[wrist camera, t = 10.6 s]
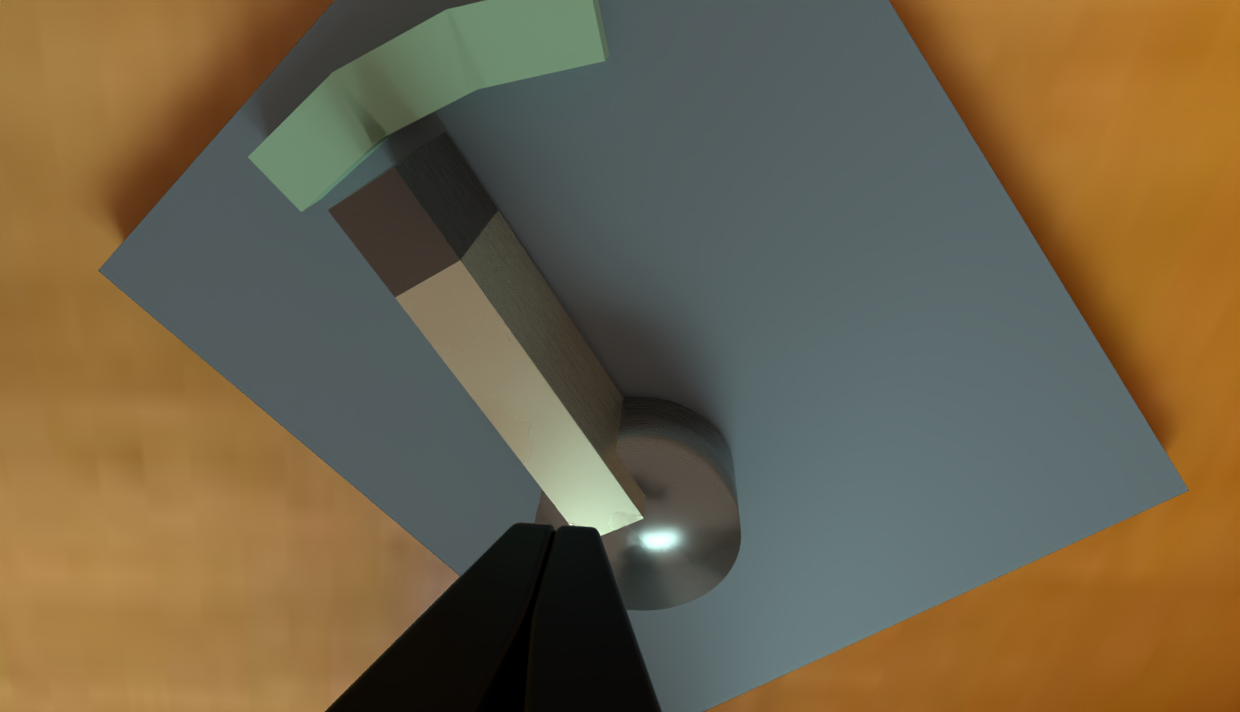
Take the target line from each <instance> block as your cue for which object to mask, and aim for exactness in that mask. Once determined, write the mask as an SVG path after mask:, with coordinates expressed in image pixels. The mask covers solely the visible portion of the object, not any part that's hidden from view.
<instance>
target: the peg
mask: <svg viewBox="0 0 1240 712" xmlns="http://www.w3.org/2000/svg"><path fill="white" fill-rule="evenodd" d="M328 211H329V212H330V214H331V215H332V216H333V218H334V219H335V220H336V222H337V223H338V224H339V225H340V227H341V228H342V229H343V231H344V232H345V233H346V235H347V236H348V237H349V238H350V240H351V241H352V242H353V244H354V245H355V246H356V248H357V249H358V250H359V251H360V253H361V254H362V255H363V257H364V258H365V259H366V261H367V262H368V263H369V264H370V266H371V267H372V268H373V270H374V271H375V272H376V274H377V275H378V276H379V278H380V279H381V280H382V281H383V283H384V284H385V285H386V287H387V288H388V289H389V291H390V292H391V293H392V294H393V296H394V297H395V298H396V300H397V301H398V302H399V304H400V305H401V306H402V307H403V309H404V310H405V311H406V313H407V314H408V315H409V317H410V318H411V319H412V320H413V322H414V323H415V324H416V326H417V327H418V328H419V330H420V331H421V332H422V333H423V335H424V336H425V337H426V339H427V340H428V341H429V343H430V344H431V345H432V346H433V348H434V349H435V350H436V352H437V353H438V354H439V356H440V357H441V358H442V359H443V361H444V362H445V363H446V365H447V366H448V367H449V369H450V370H451V371H452V372H453V374H454V375H455V376H456V378H457V379H458V380H459V382H460V383H461V384H462V385H463V387H464V388H465V389H466V391H467V392H468V393H469V395H470V396H471V397H472V399H473V400H474V401H475V402H476V404H477V405H478V406H479V408H480V409H481V410H482V412H483V413H484V414H485V415H486V417H487V418H488V419H489V421H490V422H491V423H492V425H493V426H494V427H495V428H496V430H497V431H498V432H499V434H500V435H501V436H502V438H503V439H504V440H505V441H506V443H507V444H508V445H509V447H510V448H511V449H512V451H513V452H514V453H515V454H516V456H517V457H518V458H519V460H520V461H521V462H522V464H523V465H524V466H525V467H526V469H527V470H528V471H529V473H530V474H531V475H532V477H533V478H534V479H535V480H536V482H537V483H538V484H539V486H540V487H541V488H542V493H541V497H540V501H539V504H538V508H537V512H536V518H535V523H542V524H551V525H552V526H553V527H554V528H555V530H557V528H558V527H560V526H561V525H571V526H586V527H594V528H596V529H597V530H598V532H599V533H600V536H601V539H602V541H603V544H604V547H605V550H606V553H607V556H608V559H609V561H610V564H611V567H612V570H613V573H614V576H615V578H616V581H617V584H618V587H619V590H620V593H621V595H622V598H623V601H624V604H625V607H626V610H636V611H650V610H662V609H667V608H672V607H676V606H680V605H683V604H686V603H688V602H691V601H693V600H696V599H698V598H699V597H701V596H703V595H705V594H707V593H708V592H709V591H711V590H712V589H713V588H715V587H716V586H717V585H718V584H719V583H720V582H721V581H722V580H723V579H724V578H725V577H726V576H727V574H728V573H729V572H730V570H731V569H732V567H733V565H734V563H735V562H736V559H737V556H738V553H739V549H740V544H741V526H740V516H739V507H738V497H737V488H736V478H735V469H734V463H733V458H732V455H731V452H730V450H729V448H728V446H727V444H726V442H725V440H724V439H723V437H722V436H721V434H720V433H719V432H718V431H717V430H716V428H715V427H714V426H713V425H712V424H711V423H710V422H708V421H707V420H706V419H705V418H703V417H702V416H701V415H699V414H697V413H696V412H694V411H692V410H691V409H689V408H686V407H684V406H682V405H680V404H677V403H674V402H671V401H668V400H663V399H658V398H650V397H627V398H623V397H622V395H621V394H620V392H619V391H618V389H617V388H616V386H615V385H614V383H613V382H612V380H611V379H610V377H609V376H608V374H607V373H606V371H605V370H604V368H603V367H602V365H601V364H600V362H599V361H598V359H597V358H596V356H595V355H594V353H593V352H592V350H591V349H590V347H589V346H588V344H587V343H586V341H585V340H584V338H583V337H582V335H581V334H580V332H579V331H578V329H577V328H576V326H575V325H574V323H573V322H572V320H571V319H570V317H569V316H568V314H567V313H566V311H565V310H564V308H563V307H562V305H561V304H560V302H559V301H558V299H557V298H556V296H555V295H554V293H553V292H552V290H551V289H550V287H549V286H548V284H547V283H546V281H545V280H544V278H543V277H542V275H541V274H540V272H539V271H538V269H537V268H536V266H535V265H534V263H533V262H532V260H531V259H530V257H529V256H528V254H527V253H526V251H525V250H524V248H523V247H522V245H521V244H520V242H519V241H518V239H517V238H516V236H515V235H514V233H513V232H512V230H511V229H510V227H509V226H508V224H507V223H506V221H505V220H504V218H503V217H502V215H501V214H500V212H499V211H498V209H497V208H496V206H495V205H494V203H493V202H492V200H491V199H490V197H489V196H488V194H487V193H486V191H485V190H484V188H483V187H482V185H481V184H480V182H479V181H478V179H477V178H476V176H475V175H474V173H473V172H472V170H471V169H470V167H469V166H468V164H467V163H466V161H465V160H464V158H463V157H462V155H461V154H460V152H459V151H458V149H457V148H456V146H455V145H454V143H453V142H452V140H451V139H450V137H449V136H448V134H447V133H446V131H445V132H444V133H442V134H441V135H439V136H437V137H436V138H434V139H433V140H431V141H430V142H428V143H427V144H425V145H423V146H422V147H420V148H419V149H417V150H416V151H414V152H413V153H411V154H410V155H408V156H406V157H405V158H403V159H402V160H400V161H399V162H397V163H396V164H394V165H392V166H391V167H389V168H388V169H386V170H385V171H383V172H382V173H381V174H379V175H378V176H376V177H375V178H373V179H372V180H370V181H369V182H367V183H366V184H365V185H363V186H362V187H360V188H359V189H357V190H356V191H354V192H353V193H352V194H350V195H349V196H347V197H346V198H344V199H343V200H341V201H340V202H338V203H337V204H336V205H334V206H333V207H331V208H330V209H328Z"/></svg>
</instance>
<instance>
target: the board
mask: <svg viewBox="0 0 1240 712" xmlns="http://www.w3.org/2000/svg"><path fill="white" fill-rule="evenodd" d="M445 131H446V133H447V134H448V136H449V137H450V139H451V140H452V142H453V143H454V145H455V146H456V148H457V149H458V151H459V152H460V154H461V155H462V157H463V158H464V160H465V161H466V163H467V164H468V166H469V167H470V169H471V170H472V172H473V173H474V175H475V176H476V178H477V179H478V181H479V182H480V184H481V185H482V187H483V188H484V190H485V191H486V193H487V194H488V196H489V197H490V199H491V200H492V202H493V203H494V205H495V206H496V208H497V209H498V211H499V212H500V214H501V215H502V217H503V218H504V220H505V221H506V223H507V224H508V226H509V227H510V229H511V230H512V232H513V233H514V235H515V236H516V238H517V239H518V241H519V242H520V244H521V245H522V247H523V248H524V250H525V251H526V253H527V254H528V256H529V257H530V259H531V260H532V262H533V263H534V265H535V266H536V268H537V269H538V271H539V272H540V274H541V275H542V277H543V278H544V280H545V281H546V283H547V284H548V286H549V287H550V289H551V290H552V292H553V293H554V295H555V296H556V298H557V299H558V301H559V302H560V304H561V305H562V307H563V308H564V310H565V311H566V313H567V314H568V316H569V317H570V319H571V320H572V322H573V323H574V325H575V326H576V328H577V329H578V331H579V332H580V334H581V335H582V337H583V338H584V340H585V341H586V343H587V344H588V346H589V347H590V349H591V350H592V352H593V353H594V355H595V356H596V358H597V359H598V361H599V362H600V364H601V365H602V367H603V368H604V370H605V371H606V373H607V374H608V376H609V377H610V379H611V380H612V382H613V383H614V385H615V386H616V388H617V389H618V391H619V392H620V394H621V395H622V397H623V398H627V397H650V398H658V399H663V400H668V401H671V402H674V403H677V404H680V405H682V406H684V407H686V408H689V409H691V410H692V411H694V412H696V413H697V414H699V415H701V416H702V417H703V418H705V419H706V420H707V421H708V422H710V423H711V424H712V425H713V426H714V427H715V428H716V430H717V431H718V432H719V433H720V434H721V436H722V437H723V439H724V440H725V442H726V444H727V446H728V448H729V450H730V452H731V455H732V458H733V463H734V469H735V478H736V488H737V497H738V507H739V516H740V526H741V544H740V549H739V553H738V556H737V559H736V562H735V563H734V565H733V567H732V569H731V570H730V572H729V573H728V574H727V576H726V577H725V578H724V579H723V580H722V581H721V582H720V583H719V584H718V585H717V586H716V587H715V588H713V589H712V590H711V591H709V592H708V593H707V594H705V595H703V596H701V597H699V598H698V599H696V600H693V601H691V602H688V603H686V604H683V605H680V606H676V607H672V608H667V609H662V610H650V611H636V610H627V613H628V615H629V618H630V621H631V624H632V627H633V630H634V632H635V635H636V638H637V641H638V644H639V647H640V650H641V652H642V655H643V658H644V661H645V664H646V667H647V669H648V672H649V675H650V678H651V681H652V684H653V686H654V689H655V692H656V695H657V698H658V701H659V704H660V706H661V709H662V712H704V711H706V710H708V709H710V708H712V707H715V706H717V705H719V704H721V703H723V702H725V701H728V700H730V699H732V698H734V697H736V696H739V695H741V694H743V693H745V692H747V691H750V690H752V689H754V688H756V687H758V686H761V685H763V684H765V683H767V682H769V681H772V680H774V679H776V678H778V677H780V676H783V675H785V674H787V673H789V672H791V671H794V670H796V669H798V668H800V667H802V666H805V665H807V664H809V663H811V662H813V661H816V660H818V659H820V658H822V657H824V656H827V655H829V654H831V653H833V652H835V651H837V650H840V649H842V648H844V647H846V646H848V645H851V644H853V643H855V642H857V641H859V640H862V639H864V638H866V637H868V636H870V635H873V634H875V633H877V632H879V631H881V630H884V629H886V628H888V627H890V626H892V625H895V624H897V623H899V622H901V621H903V620H906V619H908V618H910V617H912V616H914V615H917V614H919V613H921V612H923V611H925V610H928V609H930V608H932V607H934V606H936V605H939V604H941V603H943V602H945V601H947V600H950V599H952V598H954V597H956V596H958V595H960V594H963V593H965V592H967V591H969V590H971V589H974V588H976V587H978V586H980V585H982V584H985V583H987V582H989V581H991V580H993V579H996V578H998V577H1000V576H1002V575H1004V574H1007V573H1009V572H1011V571H1013V570H1015V569H1018V568H1020V567H1022V566H1024V565H1026V564H1029V563H1031V562H1033V561H1035V560H1037V559H1040V558H1042V557H1044V556H1046V555H1048V554H1051V553H1053V552H1055V551H1057V550H1059V549H1062V548H1064V547H1066V546H1068V545H1070V544H1072V543H1075V542H1077V541H1079V540H1081V539H1083V538H1086V537H1088V536H1090V535H1092V534H1094V533H1097V532H1099V531H1101V530H1103V529H1105V528H1108V527H1110V526H1112V525H1114V524H1116V523H1119V522H1121V521H1123V520H1125V519H1127V518H1130V517H1132V516H1134V515H1136V514H1138V513H1141V512H1143V511H1145V510H1147V509H1149V508H1152V507H1154V506H1156V505H1158V504H1160V503H1163V502H1165V501H1167V500H1169V499H1171V498H1174V497H1176V496H1178V495H1180V494H1182V493H1185V492H1187V491H1189V490H1188V488H1187V486H1186V485H1185V483H1184V481H1183V480H1182V478H1181V477H1180V475H1179V473H1178V472H1177V470H1176V468H1175V467H1174V465H1173V463H1172V462H1171V460H1170V459H1169V457H1168V455H1167V454H1166V452H1165V450H1164V449H1163V447H1162V445H1161V444H1160V442H1159V441H1158V439H1157V437H1156V436H1155V434H1154V432H1153V431H1152V429H1151V428H1150V426H1149V424H1148V423H1147V421H1146V419H1145V418H1144V416H1143V414H1142V413H1141V411H1140V410H1139V408H1138V406H1137V405H1136V403H1135V401H1134V400H1133V398H1132V396H1131V395H1130V393H1129V392H1128V390H1127V388H1126V387H1125V385H1124V383H1123V382H1122V380H1121V379H1120V377H1119V375H1118V374H1117V372H1116V370H1115V369H1114V367H1113V365H1112V364H1111V362H1110V361H1109V359H1108V357H1107V356H1106V354H1105V352H1104V351H1103V349H1102V348H1101V346H1100V344H1099V343H1098V341H1097V339H1096V338H1095V336H1094V334H1093V333H1092V331H1091V330H1090V328H1089V326H1088V325H1087V323H1086V321H1085V320H1084V318H1083V316H1082V315H1081V313H1080V312H1079V310H1078V308H1077V307H1076V305H1075V303H1074V302H1073V300H1072V299H1071V297H1070V295H1069V294H1068V292H1067V290H1066V289H1065V287H1064V285H1063V284H1062V282H1061V281H1060V279H1059V277H1058V276H1057V274H1056V272H1055V271H1054V269H1053V268H1052V266H1051V264H1050V263H1049V261H1048V259H1047V258H1046V256H1045V254H1044V253H1043V251H1042V250H1041V248H1040V246H1039V245H1038V243H1037V241H1036V240H1035V238H1034V236H1033V235H1032V233H1031V232H1030V230H1029V228H1028V227H1027V225H1026V223H1025V222H1024V220H1023V219H1022V217H1021V215H1020V214H1019V212H1018V210H1017V209H1016V207H1015V205H1014V204H1013V202H1012V201H1011V199H1010V197H1009V196H1008V194H1007V192H1006V191H1005V189H1004V188H1003V186H1002V184H1001V183H1000V181H999V179H998V178H997V176H996V174H995V173H994V171H993V170H992V168H991V166H990V165H989V163H988V161H987V160H986V158H985V156H984V155H983V153H982V152H981V150H980V148H979V147H978V145H977V143H976V142H975V140H974V139H973V137H972V135H971V134H970V132H969V130H968V129H967V127H966V125H965V124H964V122H963V121H962V119H961V117H960V116H959V114H958V112H957V111H956V109H955V107H954V106H953V104H952V103H951V101H950V99H949V98H948V96H947V94H946V93H945V91H944V90H943V88H942V86H941V85H940V83H939V81H938V80H937V78H936V76H935V75H934V73H933V72H932V70H931V68H930V67H929V65H928V63H927V62H926V60H925V59H924V57H923V55H922V54H921V52H920V50H919V49H918V47H917V45H916V44H915V42H914V41H913V39H912V37H911V36H910V34H909V32H908V31H907V29H906V27H905V26H904V24H903V23H902V21H901V19H900V18H899V16H898V14H897V13H896V11H895V10H894V8H893V6H892V5H891V3H890V1H889V0H335V1H334V2H333V3H332V4H331V5H330V6H329V7H328V9H327V10H326V11H325V12H324V13H323V14H322V15H321V17H320V18H319V19H318V20H317V21H316V22H315V23H314V25H313V26H312V27H311V28H310V29H309V30H308V31H307V33H306V34H305V35H304V36H303V37H302V38H301V39H300V41H299V42H298V43H297V44H296V45H295V46H294V47H293V49H292V50H291V51H290V52H289V53H288V54H287V55H286V57H285V58H284V59H283V60H282V61H281V62H280V63H279V65H278V66H277V67H276V68H275V69H274V70H273V71H272V73H271V74H270V75H269V76H268V77H267V78H266V79H265V81H264V82H263V83H262V84H261V85H260V86H259V87H258V89H257V90H256V91H255V92H254V93H253V94H252V95H251V97H250V98H249V99H248V100H247V101H246V102H245V103H244V105H243V106H242V107H241V108H240V109H239V110H238V111H237V113H236V114H235V115H234V116H233V117H232V118H231V119H230V121H229V122H228V123H227V124H226V125H225V126H224V127H223V129H222V130H221V131H220V132H219V133H218V134H217V135H216V137H215V138H214V139H213V140H212V141H211V142H210V143H209V145H208V146H207V147H206V148H205V149H204V150H203V151H202V153H201V154H200V155H199V156H198V157H197V158H196V159H195V161H194V162H193V163H192V164H191V165H190V166H189V167H188V169H187V170H186V171H185V172H184V173H183V174H182V175H181V177H180V178H179V179H178V180H177V181H176V182H175V183H174V185H173V186H172V187H171V188H170V189H169V190H168V191H167V193H166V194H165V195H164V196H163V197H162V198H161V199H160V201H159V202H158V203H157V204H156V205H155V206H154V207H153V208H152V210H151V211H150V212H149V213H148V214H147V215H146V216H145V218H144V219H143V220H142V221H141V222H140V223H139V224H138V226H137V227H136V228H135V229H134V230H133V231H132V232H131V234H130V235H129V236H128V237H127V238H126V239H125V240H124V242H123V243H122V244H121V245H120V246H119V247H118V248H117V250H116V251H115V252H114V253H113V254H112V255H111V256H110V258H109V259H108V260H107V261H106V262H105V263H104V264H103V266H102V267H101V268H100V269H99V270H98V271H99V272H100V273H101V274H103V275H104V276H105V277H106V278H107V279H109V280H110V281H111V282H112V283H113V284H114V285H116V286H117V287H118V288H119V289H120V290H122V291H123V292H124V293H125V294H126V295H127V296H129V297H130V298H131V299H132V300H133V301H135V302H136V303H137V304H138V305H139V306H141V307H142V308H143V309H144V310H145V311H146V312H148V313H149V314H150V315H151V316H152V317H154V318H155V319H156V320H157V321H158V322H159V323H161V324H162V325H163V326H164V327H165V328H167V329H168V330H169V331H170V332H171V333H173V334H174V335H175V336H176V337H177V338H178V339H180V340H181V341H182V342H183V343H184V344H186V345H187V346H188V347H189V348H190V349H191V350H193V351H194V352H195V353H196V354H197V355H199V356H200V357H201V358H202V359H203V360H205V361H206V362H207V363H208V364H209V365H210V366H212V367H213V368H214V369H215V370H216V371H218V372H219V373H220V374H221V375H222V376H223V377H225V378H226V379H227V380H228V381H229V382H231V383H232V384H233V385H234V386H235V387H237V388H238V389H239V390H240V391H241V392H242V393H244V394H245V395H246V396H247V397H248V398H250V399H251V400H252V401H253V402H254V403H255V404H257V405H258V406H259V407H260V408H261V409H263V410H264V411H265V412H266V413H267V414H269V415H270V416H271V417H272V418H273V419H274V420H276V421H277V422H278V423H279V424H280V425H282V426H283V427H284V428H285V429H286V430H287V431H289V432H290V433H291V434H292V435H293V436H295V437H296V438H297V439H298V440H299V441H301V442H302V443H303V444H304V445H305V446H306V447H308V448H309V449H310V450H311V451H312V452H314V453H315V454H316V455H317V456H318V457H319V458H321V459H322V460H323V461H324V462H325V463H327V464H328V465H329V466H330V467H331V468H333V469H334V470H335V471H336V472H337V473H338V474H340V475H341V476H342V477H343V478H344V479H346V480H347V481H348V482H349V483H350V484H351V485H353V486H354V487H355V488H356V489H357V490H359V491H360V492H361V493H362V494H363V495H365V496H366V497H367V498H368V499H369V500H370V501H372V502H373V503H374V504H375V505H376V506H378V507H379V508H380V509H381V510H382V511H383V512H385V513H386V514H387V515H388V516H389V517H391V518H392V519H393V520H394V521H395V522H397V523H398V524H399V525H400V526H401V527H402V528H404V529H405V530H406V531H407V532H408V533H410V534H411V535H412V536H413V537H414V538H415V539H417V540H418V541H419V542H420V543H421V544H423V545H424V546H425V547H426V548H427V549H429V550H430V551H431V552H432V553H433V554H434V555H436V556H437V557H438V558H439V559H440V560H442V561H443V562H444V563H445V564H446V565H447V566H449V567H450V568H451V569H452V570H453V571H455V572H456V573H457V574H458V575H459V576H461V575H462V574H463V573H464V572H465V571H466V570H467V569H468V568H469V567H470V566H471V565H472V564H473V563H474V562H475V561H476V560H477V559H478V558H479V557H480V556H481V555H482V554H483V553H484V552H485V551H486V550H487V549H488V548H489V547H490V546H491V545H492V544H493V543H494V542H495V541H496V540H497V539H498V538H499V537H500V536H502V535H503V534H504V533H505V532H506V531H507V530H508V529H509V528H510V527H511V526H512V525H513V524H515V523H518V522H527V523H535V518H536V512H537V508H538V504H539V501H540V497H541V493H542V488H541V487H540V486H539V484H538V483H537V482H536V480H535V479H534V478H533V477H532V475H531V474H530V473H529V471H528V470H527V469H526V467H525V466H524V465H523V464H522V462H521V461H520V460H519V458H518V457H517V456H516V454H515V453H514V452H513V451H512V449H511V448H510V447H509V445H508V444H507V443H506V441H505V440H504V439H503V438H502V436H501V435H500V434H499V432H498V431H497V430H496V428H495V427H494V426H493V425H492V423H491V422H490V421H489V419H488V418H487V417H486V415H485V414H484V413H483V412H482V410H481V409H480V408H479V406H478V405H477V404H476V402H475V401H474V400H473V399H472V397H471V396H470V395H469V393H468V392H467V391H466V389H465V388H464V387H463V385H462V384H461V383H460V382H459V380H458V379H457V378H456V376H455V375H454V374H453V372H452V371H451V370H450V369H449V367H448V366H447V365H446V363H445V362H444V361H443V359H442V358H441V357H440V356H439V354H438V353H437V352H436V350H435V349H434V348H433V346H432V345H431V344H430V343H429V341H428V340H427V339H426V337H425V336H424V335H423V333H422V332H421V331H420V330H419V328H418V327H417V326H416V324H415V323H414V322H413V320H412V319H411V318H410V317H409V315H408V314H407V313H406V311H405V310H404V309H403V307H402V306H401V305H400V304H399V302H398V301H397V300H396V298H395V297H394V296H393V294H392V293H391V292H390V291H389V289H388V288H387V287H386V285H385V284H384V283H383V281H382V280H381V279H380V278H379V276H378V275H377V274H376V272H375V271H374V270H373V268H372V267H371V266H370V264H369V263H368V262H367V261H366V259H365V258H364V257H363V255H362V254H361V253H360V251H359V250H358V249H357V248H356V246H355V245H354V244H353V242H352V241H351V240H350V238H349V237H348V236H347V235H346V233H345V232H344V231H343V229H342V228H341V227H340V225H339V224H338V223H337V222H336V220H335V219H334V218H333V216H332V215H331V214H330V212H329V211H328V209H330V208H331V207H333V206H334V205H336V204H337V203H338V202H340V201H341V200H343V199H344V198H346V197H347V196H349V195H350V194H352V193H353V192H354V191H356V190H357V189H359V188H360V187H362V186H363V185H365V184H366V183H367V182H369V181H370V180H372V179H373V178H375V177H376V176H378V175H379V174H381V173H382V172H383V171H385V170H386V169H388V168H389V167H391V166H392V165H394V164H396V163H397V162H399V161H400V160H402V159H403V158H405V157H406V156H408V155H410V154H411V153H413V152H414V151H416V150H417V149H419V148H420V147H422V146H423V145H425V144H427V143H428V142H430V141H431V140H433V139H434V138H436V137H437V136H439V135H441V134H442V133H444V132H445Z"/></svg>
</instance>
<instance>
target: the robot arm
mask: <svg viewBox="0 0 1240 712" xmlns="http://www.w3.org/2000/svg"><path fill="white" fill-rule="evenodd" d="M325 712H662V709H661V706H660V704H659V701H658V698H657V695H656V692H655V689H654V686H653V684H652V681H651V678H650V675H649V672H648V669H647V667H646V664H645V661H644V658H643V655H642V652H641V650H640V647H639V644H638V641H637V638H636V635H635V632H634V630H633V627H632V624H631V621H630V618H629V615H628V613H627V610H626V607H625V604H624V601H623V598H622V595H621V593H620V590H619V587H618V584H617V581H616V578H615V576H614V573H613V570H612V567H611V564H610V561H609V559H608V556H607V553H606V550H605V547H604V544H603V541H602V539H601V536H600V533H599V532H598V530H597V529H596V528H594V527H586V526H571V525H561V526H560V527H558V528H557V530H555V528H554V527H553V526H552V525H551V524H542V523H527V522H518V523H515V524H513V525H512V526H511V527H510V528H509V529H508V530H507V531H506V532H505V533H504V534H503V535H502V536H500V537H499V538H498V539H497V540H496V541H495V542H494V543H493V544H492V545H491V546H490V547H489V548H488V549H487V550H486V551H485V552H484V553H483V554H482V555H481V556H480V557H479V558H478V559H477V560H476V561H475V562H474V563H473V564H472V565H471V566H470V567H469V568H468V569H467V570H466V571H465V572H464V573H463V574H462V575H461V576H460V577H459V578H458V579H457V580H456V581H455V582H454V583H453V584H452V585H451V586H450V587H449V588H448V589H447V590H446V591H445V592H444V593H443V594H442V595H441V596H440V597H439V598H438V599H437V600H436V601H435V602H434V603H433V604H432V605H431V606H430V607H429V608H428V609H427V610H426V611H425V612H424V613H423V614H422V615H421V616H420V617H419V618H418V619H417V620H416V621H415V622H414V623H413V624H412V625H411V626H410V627H409V628H408V629H407V630H406V631H405V632H404V633H403V634H402V635H401V636H400V637H399V638H398V639H397V640H396V641H395V642H394V643H393V644H392V645H391V646H390V647H389V648H388V649H387V650H386V651H385V652H384V653H383V654H382V655H381V656H380V657H379V658H378V659H377V660H376V661H375V662H374V663H373V664H372V665H371V666H370V667H369V668H368V669H367V670H366V671H365V672H364V673H363V674H362V675H361V676H360V677H359V678H358V679H357V680H356V681H355V682H354V683H353V684H352V685H351V686H350V687H349V688H348V689H347V690H346V691H345V692H344V693H343V694H342V695H341V696H340V697H339V698H338V699H337V700H336V701H335V702H334V703H333V704H332V705H331V706H330V707H329V708H328V709H327V710H326V711H325Z"/></svg>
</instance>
